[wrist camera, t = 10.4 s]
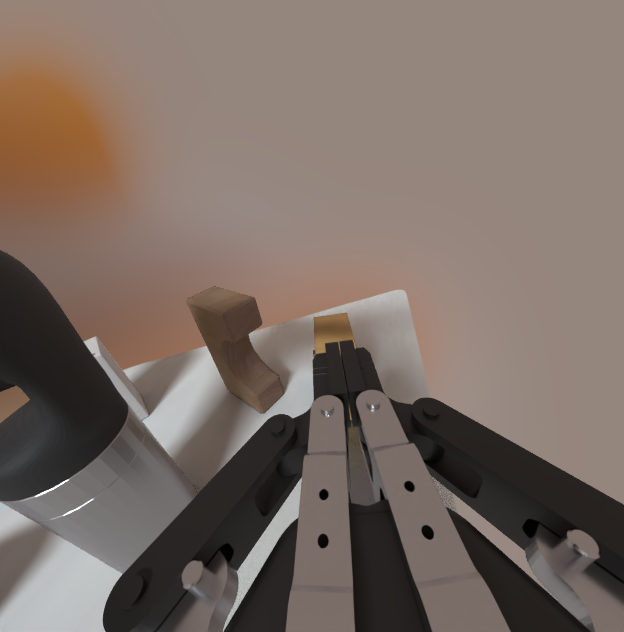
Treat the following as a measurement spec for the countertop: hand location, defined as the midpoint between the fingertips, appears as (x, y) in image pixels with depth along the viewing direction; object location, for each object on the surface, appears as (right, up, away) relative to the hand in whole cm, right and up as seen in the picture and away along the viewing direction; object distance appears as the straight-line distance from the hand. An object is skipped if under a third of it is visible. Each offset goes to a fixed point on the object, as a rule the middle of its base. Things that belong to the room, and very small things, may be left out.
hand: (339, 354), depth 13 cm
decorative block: (-12, -12, +33) cm, 37 cm away
